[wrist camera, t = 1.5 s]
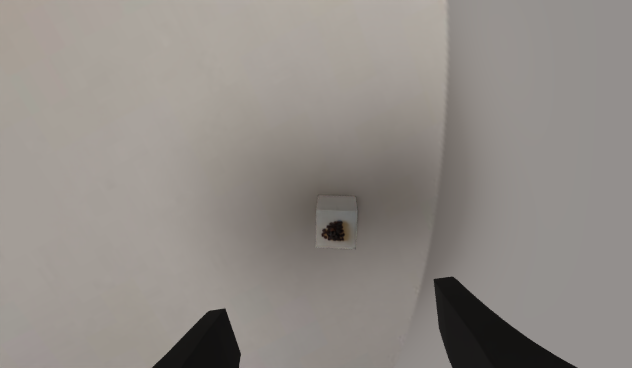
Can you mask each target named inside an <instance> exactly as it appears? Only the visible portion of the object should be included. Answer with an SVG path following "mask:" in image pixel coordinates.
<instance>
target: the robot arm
mask: <svg viewBox="0 0 632 368" xmlns="http://www.w3.org/2000/svg"><path fill="white" fill-rule="evenodd" d="M434 287H435V296H436V304H437V314H438V322H439V329H440V333H441V336H442V340H443V343H444V346H445V349H446V352H447V355H448V358H449V361H450V363H451V365H452V368H577V367H575V366H573V365H571V364H570V363H568V362H566V361H564V360H562V359H561V358H559V357H557V356H556V355H554V354H552V353H551V352H549V351H547V350H546V349H544V348H543V347H541V346H539V345H538V344H536V343H535V342H533V341H532V340H530V339H529V338H527V337H526V336H524V335H523V334H522V333H520V332H519V331H518V330H516V329H515V328H513V327H512V326H511V325H509V324H508V323H507V322H505V321H504V320H503V319H501V318H500V317H499V316H498V315H497V314H495V313H494V312H493V311H492V310H490V309H489V308H488V307H487V306H485V305H484V304H483V303H482V302H481V301H480V300H479V299H477V298H476V297H475V296H474V295H473V294H472V293H470V291H468V290H467V289H466V288H465V287H464V286H463V285H462V284H461V283H460V282H459V281H458V280H456V279H455V278H454V277H446V278H439V279H434ZM240 356H241V353H240V350H239V347H238V344H237V341H236V338H235V335H234V332H233V330H232V327H231V324H230V321H229V318H228V315H227V312H226V309H219V310H212V311H208V312H207V313H206V314H205V315H204V316H203V317H202V318H201V319H200V320H199V321H198V322H197V323H196V324H195V325H194V326H193V327H192V328H191V329H190V330H189V331H188V332H187V333H186V334H185V335H184V336H183V337H182V338H181V339H180V340H179V342H178V343H177V344H176V345H175V346H174V347H173V348H172V349H171V350H170V351H169V352H168V353H167V354H166V355H165V356H164V357H163V358H162V359H161V360H160V361H158V362H157V363H156V364H155V365H154V366H153V367H152V368H239V363H240Z"/></svg>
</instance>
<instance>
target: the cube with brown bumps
mask: <svg viewBox="0 0 632 368" xmlns="http://www.w3.org/2000/svg"><path fill="white" fill-rule="evenodd" d="M357 217H358V210H357V203H356V196H334V195H318V199H317V207H316V248H336V249H356V235H357Z"/></svg>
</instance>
